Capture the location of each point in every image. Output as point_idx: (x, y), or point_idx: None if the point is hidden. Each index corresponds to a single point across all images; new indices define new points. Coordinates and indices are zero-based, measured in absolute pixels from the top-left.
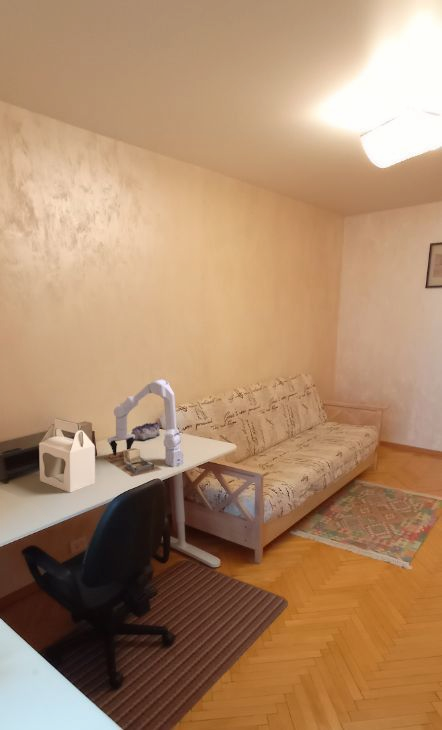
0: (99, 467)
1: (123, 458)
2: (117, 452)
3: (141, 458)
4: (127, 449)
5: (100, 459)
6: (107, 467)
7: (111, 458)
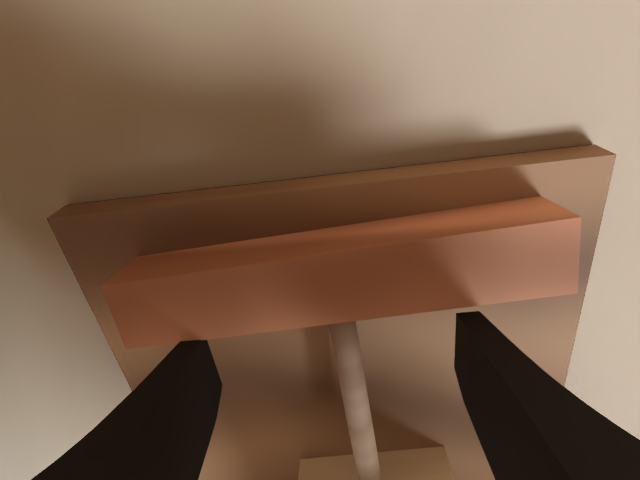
0: (24, 414)
1: None
2: (278, 275)
3: None
4: (474, 374)
5: (8, 158)
6: None
7: None
